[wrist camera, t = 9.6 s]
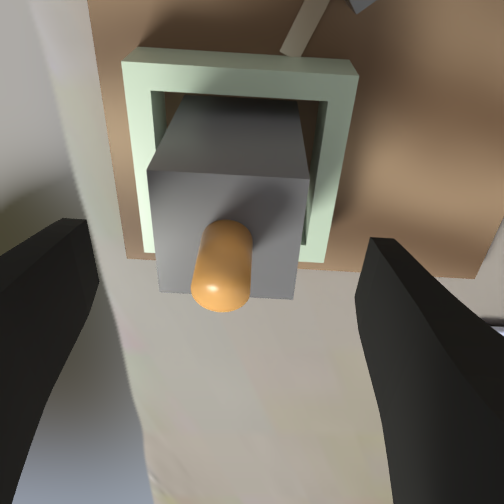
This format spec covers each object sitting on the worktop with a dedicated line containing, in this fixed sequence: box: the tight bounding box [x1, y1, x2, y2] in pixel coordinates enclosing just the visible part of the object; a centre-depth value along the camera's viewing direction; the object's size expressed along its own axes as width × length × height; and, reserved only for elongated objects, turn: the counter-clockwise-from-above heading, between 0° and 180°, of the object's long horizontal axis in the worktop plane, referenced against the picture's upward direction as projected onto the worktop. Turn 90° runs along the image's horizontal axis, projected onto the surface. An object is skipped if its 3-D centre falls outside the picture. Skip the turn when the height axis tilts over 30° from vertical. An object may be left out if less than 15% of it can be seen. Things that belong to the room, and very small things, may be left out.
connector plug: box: [146, 95, 310, 312], centre depth 13 cm, size 4×4×8 cm
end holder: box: [121, 47, 359, 263], centre depth 16 cm, size 7×7×2 cm
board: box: [87, 0, 504, 279], centre depth 15 cm, size 17×16×1 cm
